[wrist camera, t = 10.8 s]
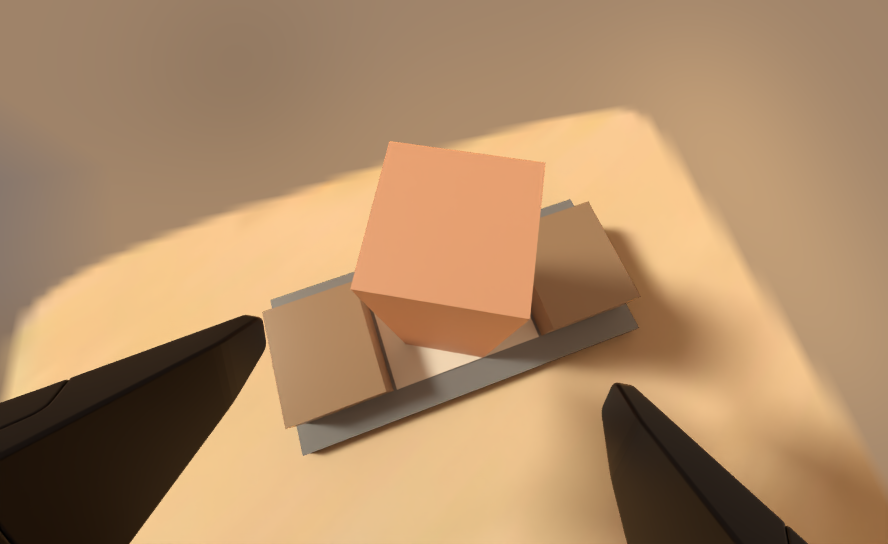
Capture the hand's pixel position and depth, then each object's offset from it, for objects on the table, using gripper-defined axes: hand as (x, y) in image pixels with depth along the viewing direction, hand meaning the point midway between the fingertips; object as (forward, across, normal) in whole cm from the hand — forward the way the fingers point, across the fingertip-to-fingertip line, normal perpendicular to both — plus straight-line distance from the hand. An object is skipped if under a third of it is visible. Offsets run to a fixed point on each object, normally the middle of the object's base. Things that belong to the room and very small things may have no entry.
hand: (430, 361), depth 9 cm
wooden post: (+11, 0, +5) cm, 12 cm away
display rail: (+11, 0, +6) cm, 13 cm away
